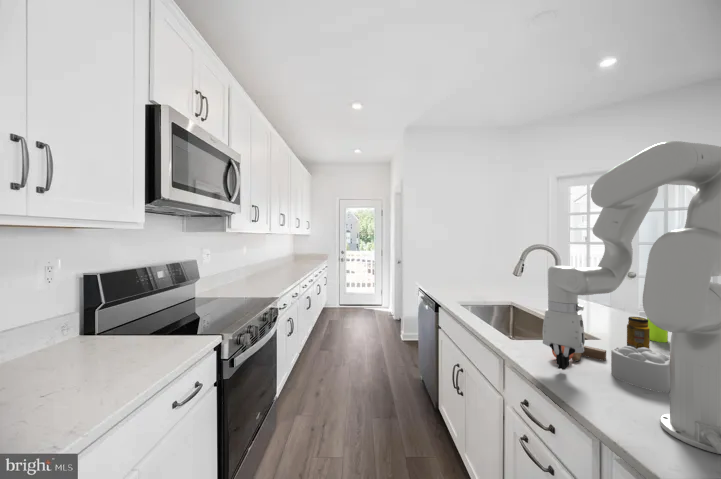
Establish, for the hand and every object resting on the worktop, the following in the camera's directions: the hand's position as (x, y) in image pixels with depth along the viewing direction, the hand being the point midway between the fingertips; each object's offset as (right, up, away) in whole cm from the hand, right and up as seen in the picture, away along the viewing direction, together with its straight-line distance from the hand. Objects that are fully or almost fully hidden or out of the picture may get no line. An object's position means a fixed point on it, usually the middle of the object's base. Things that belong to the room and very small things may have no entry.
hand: (562, 367), depth 94 cm
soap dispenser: (+56, -1, +29) cm, 63 cm away
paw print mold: (+19, -2, -5) cm, 19 cm away
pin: (+10, 0, +8) cm, 13 cm away
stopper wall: (+16, -1, +14) cm, 22 cm away
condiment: (+37, -2, +16) cm, 40 cm away
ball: (+6, +2, +9) cm, 11 cm away
